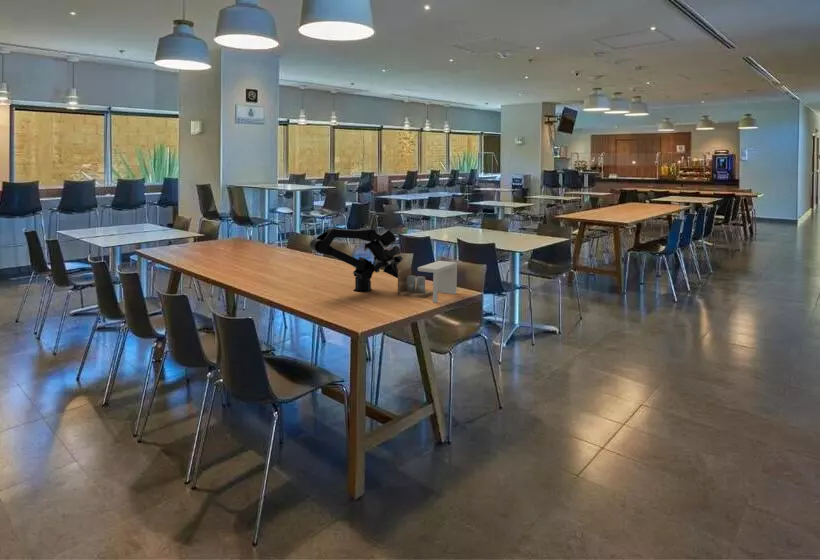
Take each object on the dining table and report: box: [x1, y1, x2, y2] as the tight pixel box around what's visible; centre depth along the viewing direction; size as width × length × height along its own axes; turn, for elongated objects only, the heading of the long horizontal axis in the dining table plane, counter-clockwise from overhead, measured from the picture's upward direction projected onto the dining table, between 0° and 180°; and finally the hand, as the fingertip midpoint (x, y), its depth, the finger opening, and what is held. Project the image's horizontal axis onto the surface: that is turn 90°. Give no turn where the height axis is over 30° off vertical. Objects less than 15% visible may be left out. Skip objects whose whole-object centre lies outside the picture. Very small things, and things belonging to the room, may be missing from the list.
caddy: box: [397, 267, 433, 299], centre depth 272 cm, size 13×10×11 cm
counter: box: [417, 260, 458, 304], centre depth 267 cm, size 9×21×14 cm, turn 152°
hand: (399, 277), depth 276 cm, fingers closed
